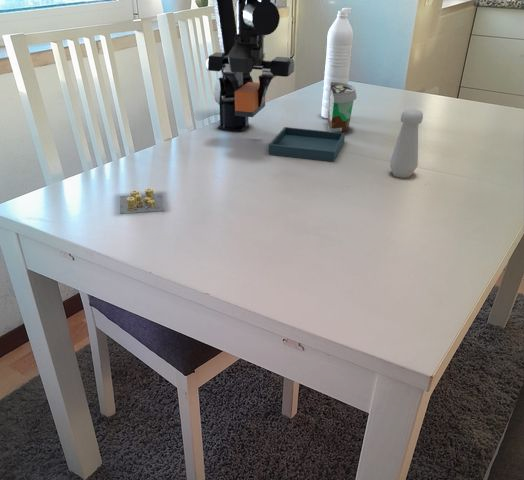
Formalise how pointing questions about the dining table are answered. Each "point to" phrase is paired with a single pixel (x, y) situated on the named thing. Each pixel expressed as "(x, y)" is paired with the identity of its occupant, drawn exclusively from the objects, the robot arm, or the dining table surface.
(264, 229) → the dining table surface
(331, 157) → the dark teal tray
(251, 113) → the eraser
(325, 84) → the water bottle
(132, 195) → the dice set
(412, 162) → the salt shaker
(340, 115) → the food container
